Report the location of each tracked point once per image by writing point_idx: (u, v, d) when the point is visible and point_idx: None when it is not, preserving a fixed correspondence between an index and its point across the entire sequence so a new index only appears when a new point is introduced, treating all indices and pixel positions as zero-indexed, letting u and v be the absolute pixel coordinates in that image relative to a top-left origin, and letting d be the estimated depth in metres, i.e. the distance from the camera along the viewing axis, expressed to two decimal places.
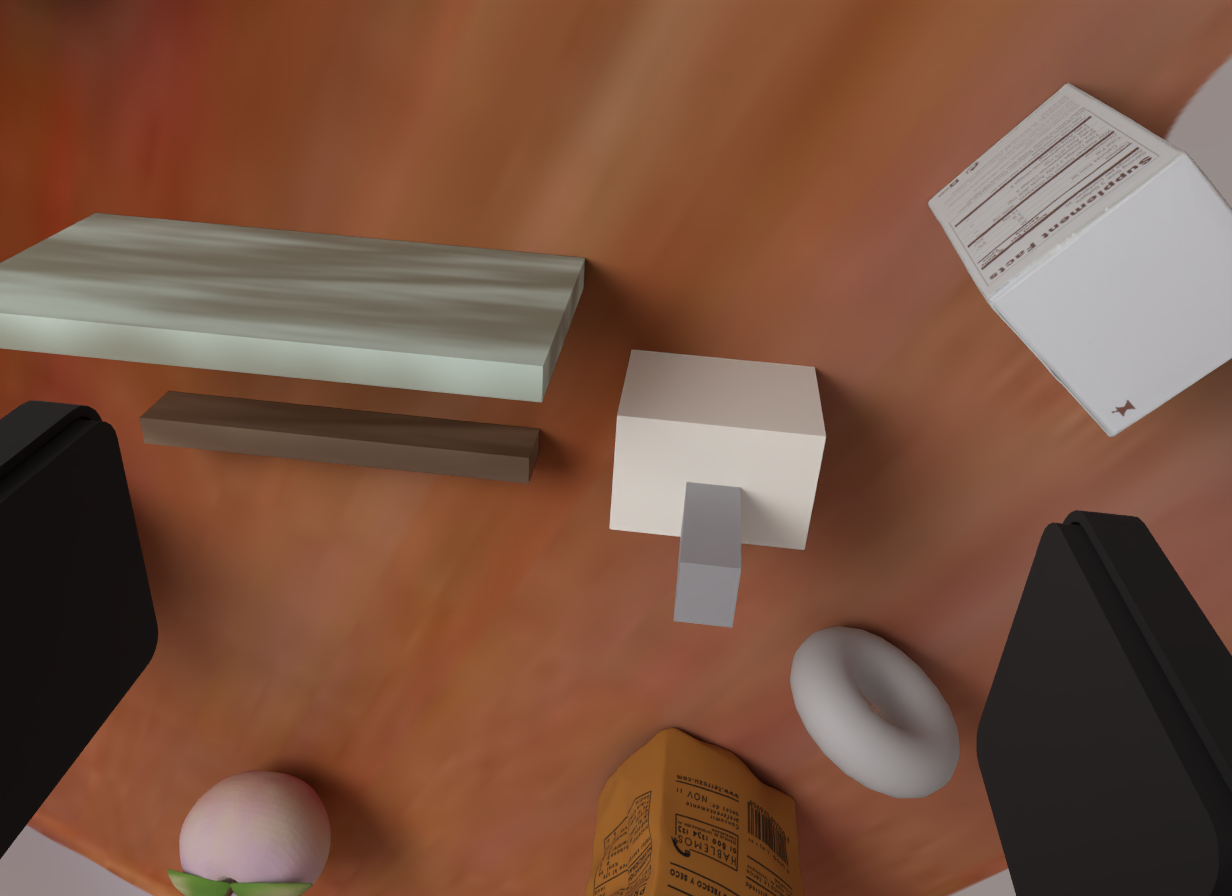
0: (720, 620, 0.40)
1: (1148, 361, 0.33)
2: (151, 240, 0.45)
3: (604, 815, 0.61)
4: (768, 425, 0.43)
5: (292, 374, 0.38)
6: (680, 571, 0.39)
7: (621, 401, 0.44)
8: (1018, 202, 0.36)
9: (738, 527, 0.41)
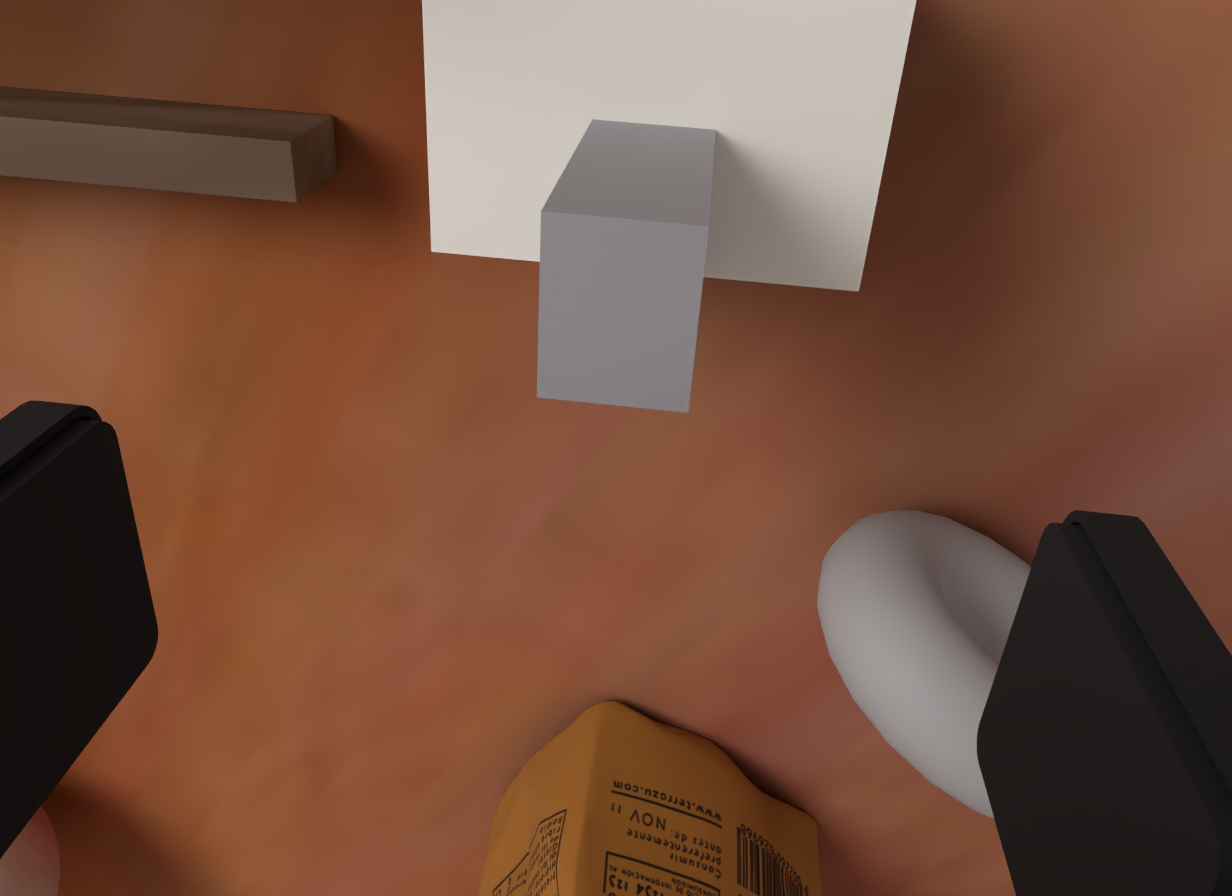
0: (657, 392, 0.15)
1: None
2: None
3: (496, 847, 0.36)
4: None
5: None
6: (543, 242, 0.14)
7: None
8: None
9: (706, 172, 0.16)
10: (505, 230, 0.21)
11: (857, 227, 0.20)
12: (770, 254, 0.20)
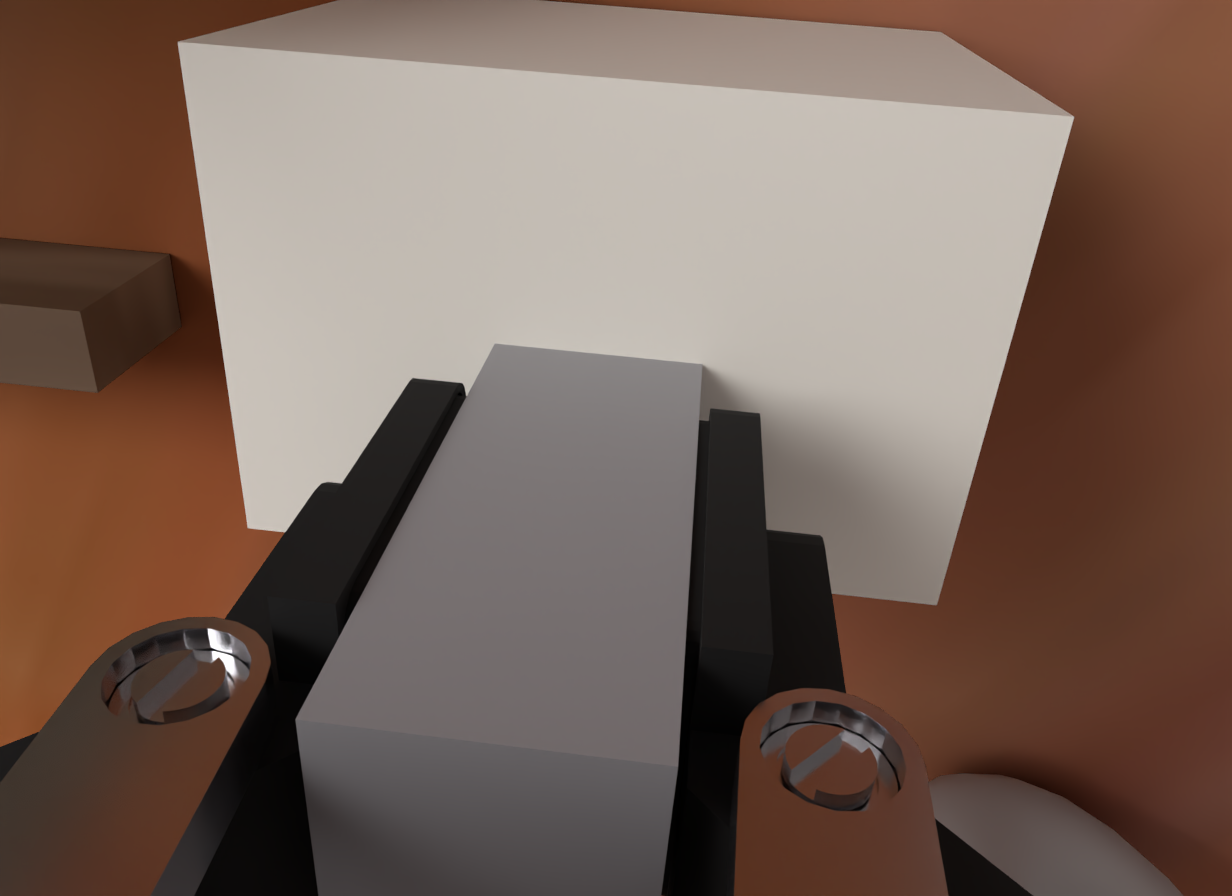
0: None
1: None
2: None
3: None
4: (818, 88, 0.10)
5: None
6: (309, 772, 0.06)
7: (239, 27, 0.11)
8: None
9: (682, 513, 0.09)
10: None
11: (938, 514, 0.12)
12: None
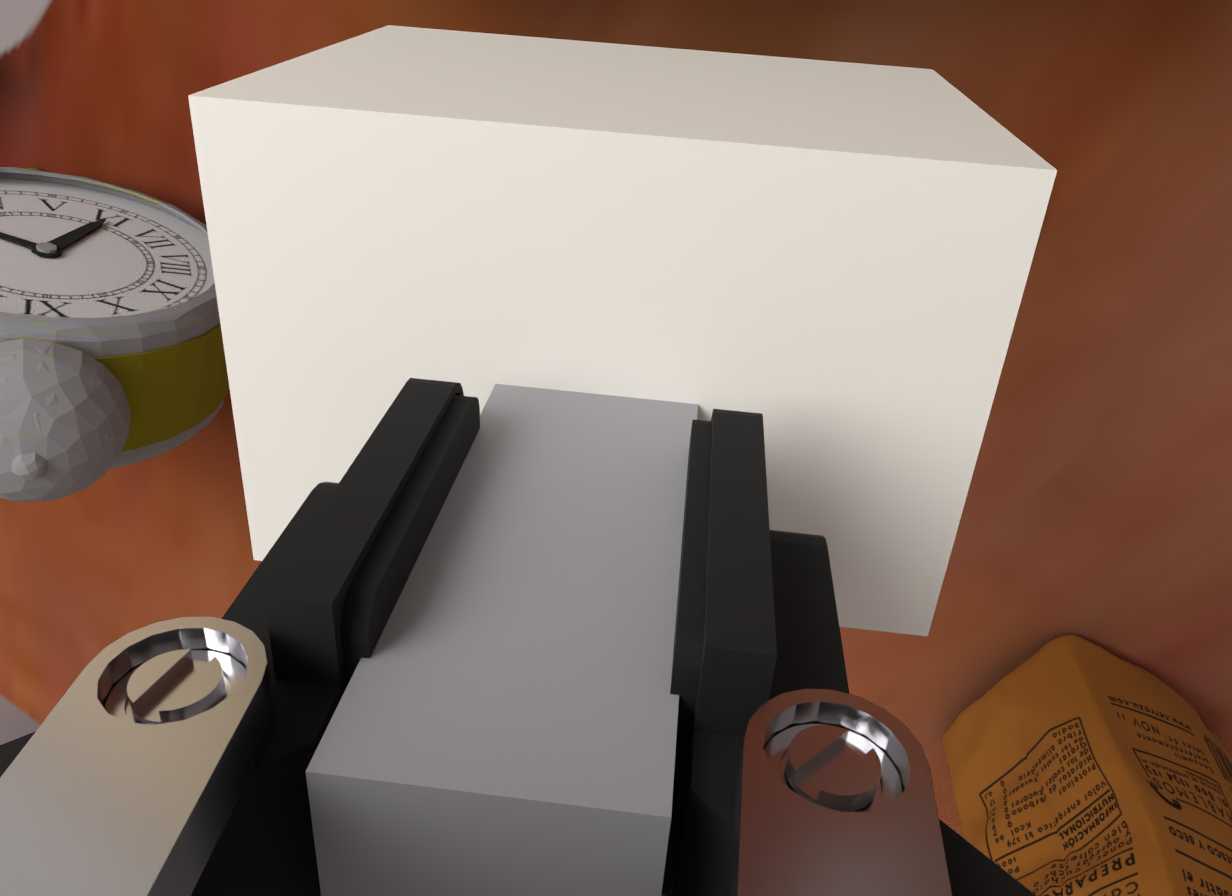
0: None
1: None
2: None
3: (974, 759, 0.43)
4: (809, 139, 0.10)
5: None
6: (318, 820, 0.07)
7: (247, 76, 0.12)
8: None
9: (677, 559, 0.09)
10: None
11: (928, 549, 0.12)
12: None
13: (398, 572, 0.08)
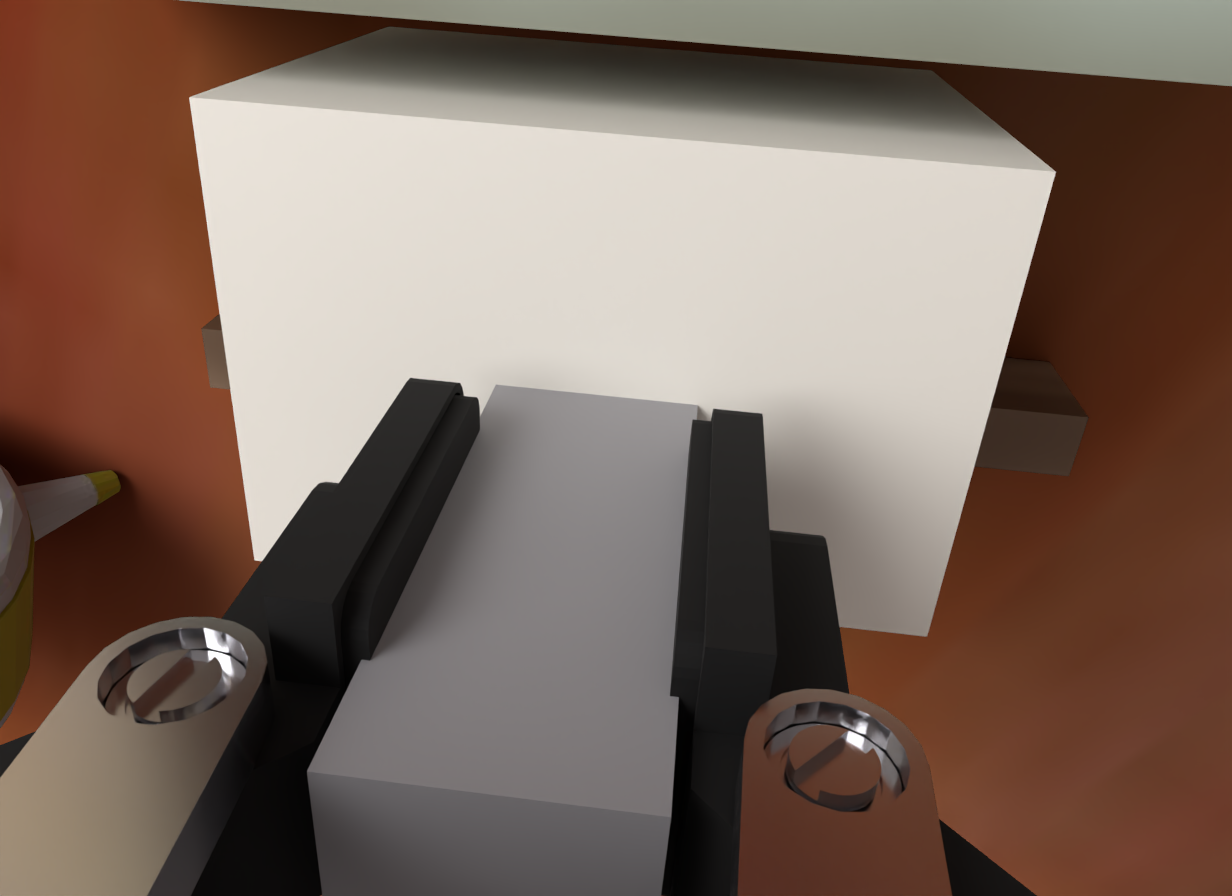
0: None
1: None
2: None
3: None
4: (809, 141, 0.10)
5: (850, 42, 0.10)
6: (319, 820, 0.07)
7: (248, 78, 0.12)
8: None
9: (676, 559, 0.09)
10: None
11: (927, 549, 0.12)
12: None
13: (398, 572, 0.08)
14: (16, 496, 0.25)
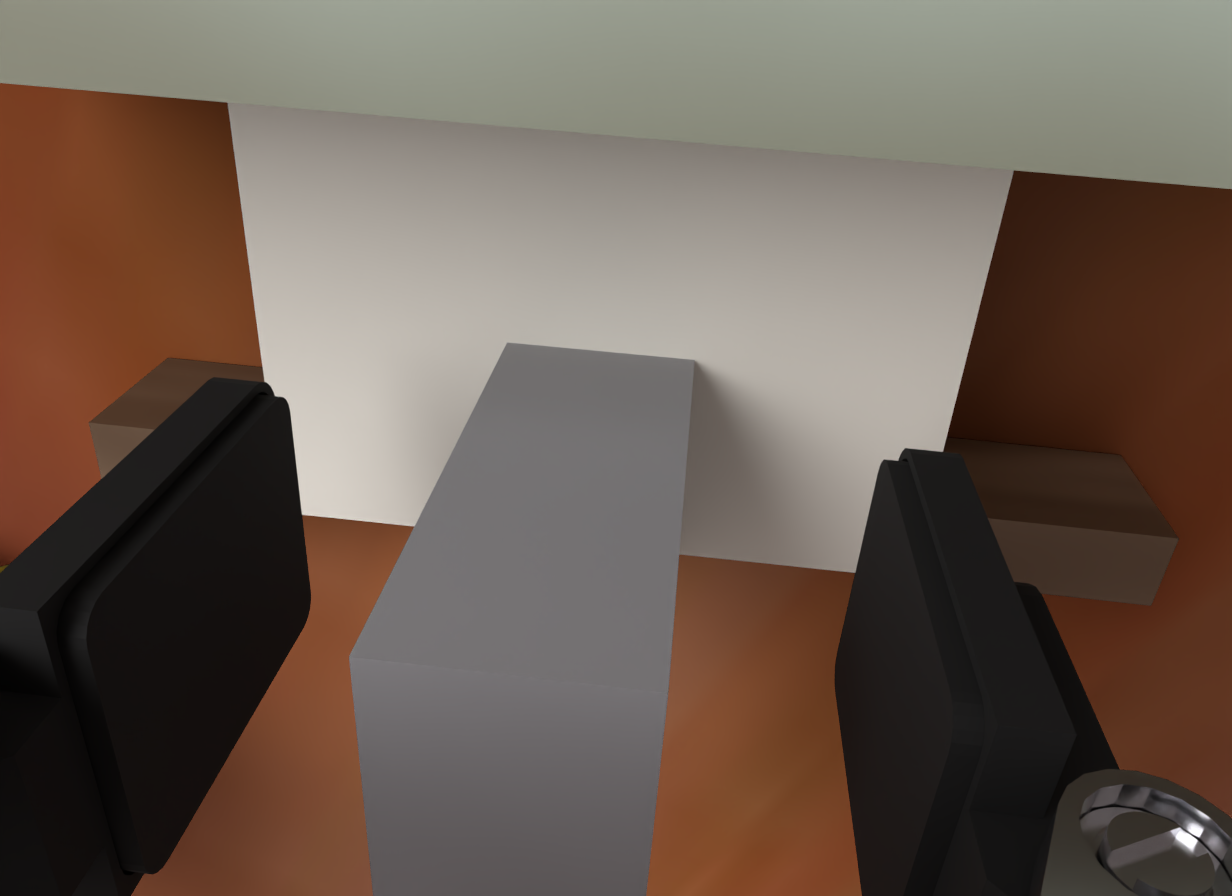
0: None
1: None
2: None
3: None
4: None
5: (941, 143, 0.06)
6: (359, 702, 0.08)
7: None
8: None
9: (674, 490, 0.10)
10: (387, 488, 0.14)
11: None
12: (779, 527, 0.14)
13: (141, 578, 0.08)
14: None
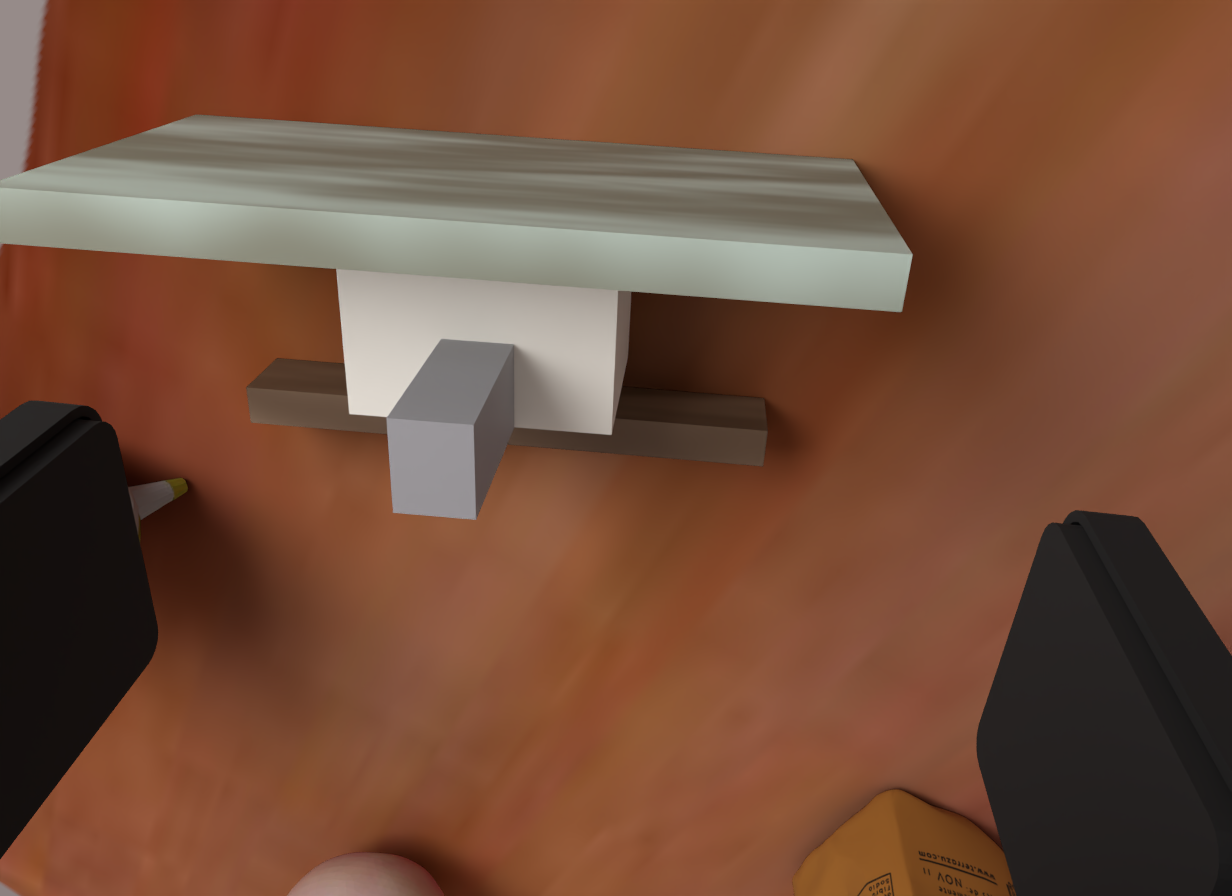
0: (457, 509, 0.28)
1: None
2: (281, 136, 0.34)
3: None
4: None
5: (528, 278, 0.26)
6: (389, 433, 0.27)
7: None
8: None
9: (491, 382, 0.29)
10: (393, 401, 0.33)
11: (604, 398, 0.33)
12: (555, 413, 0.33)
13: None
14: (129, 492, 0.40)
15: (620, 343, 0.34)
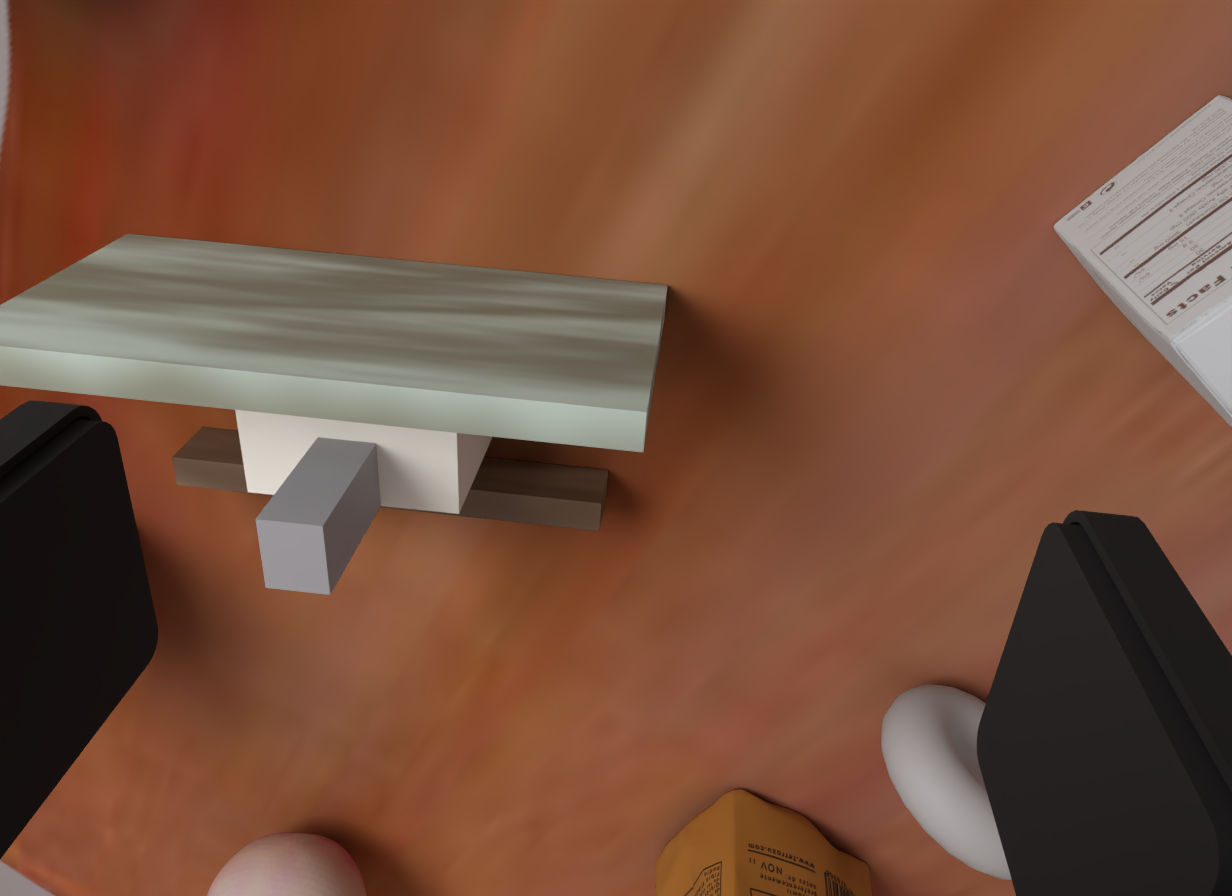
0: (315, 586, 0.36)
1: None
2: (191, 264, 0.41)
3: (666, 884, 0.56)
4: None
5: (359, 419, 0.33)
6: (258, 530, 0.35)
7: None
8: (1186, 228, 0.32)
9: (347, 483, 0.37)
10: (283, 483, 0.41)
11: (451, 485, 0.40)
12: (412, 496, 0.41)
13: None
14: None
15: (470, 437, 0.42)
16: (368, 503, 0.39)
